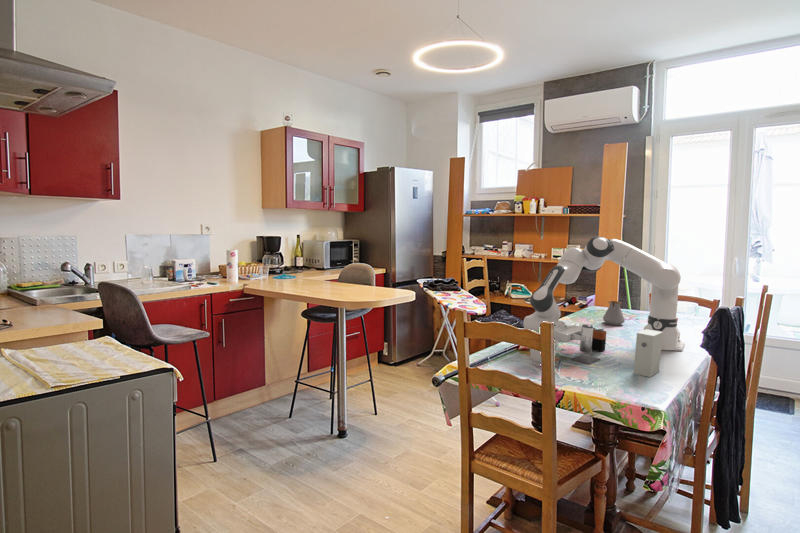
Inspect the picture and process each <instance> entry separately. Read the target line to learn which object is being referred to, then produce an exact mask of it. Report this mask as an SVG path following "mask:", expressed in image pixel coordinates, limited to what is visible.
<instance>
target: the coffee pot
mask: <svg viewBox="0 0 800 533" xmlns="http://www.w3.org/2000/svg"><path fill="white" fill-rule="evenodd" d="M607 302H608V303H609V306H608V308H607V309H606V311H605V314H604V315H603V317H602V319H603V321H604V323H605V324H607V325H610V326H621V325H622V324H624V323H625V321H626V320H625V317H624V314H623V311H622V309H621V304H622V301H614V300H608V301H607Z"/></svg>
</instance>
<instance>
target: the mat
mask: <svg viewBox="0 0 800 533" xmlns="http://www.w3.org/2000/svg"><path fill="white" fill-rule="evenodd" d="M570 360H571V361H574V362H579V363H583V364H585V365H592V364H594V363H596V362H598V361H601V357H596V356H592V355H587V354H583V353H581V354H579V355H576V356H573V357H571V358H570Z"/></svg>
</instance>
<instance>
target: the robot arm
mask: <svg viewBox="0 0 800 533" xmlns="http://www.w3.org/2000/svg"><path fill="white" fill-rule="evenodd" d="M606 261H611V262H613V263H614V264H617V265H618V266H620V267H622V268H624V269H626V270H628V271H629V272H631V273H633V274H635V275H637V276H638V277H640V278H641V279H643V280H644V281H646V282H648V283H650V284H651V290H650V293H651V294H650V302H649V303H650V305H649V314H648V316H647V324H646V325H644V326H643V330H645V329H649V330H654V331H660V332H663V337H662V347H661V351H677V352H678V351H679V352H682V351H683V350H684V347H685V345H686V344H685V342H684V341H681V338H680V337H681V332H680V330H679V329H678V327H677V326H678V319H679V318H678V317H677V311H678V302H679V301H678V300H679V299H678V297H679V284H680V283H681V279H682V278H681V274H680V272H679V270H678V269H677V267H676V266H674V265H672V264H670V263H665V262H664V261H663V260H660V259H658V258H656V257H655V256H653V255H651V254H650V253H648V252H645V251H644V250H642V249H640V248H639V247H638V248H637V247H636V246H635V245H632V244H630V243H628V242H625V241H623V240H620V239H616V238H611V239H609V238H606V237H602V236H593V237H591V238H590V239H589V240H588V241H587V243H586V244H585V247H584V248H582V249H581V248H578V247H570V248H567V249H566V250H565V252H564V253H563V254H562V256H561V257H560V259H559V261H558V262H557V264H556V265H555V266H553V267H552V268H551V269H550V271H549V272H548V273H547V275H546V276H545V278H544V279H543V281H542V283H541V284H540V285H539V286H538V288H537V289H536V290H535V291H534V292H533V293H532V294H531V296H530V299H529V303H530V305H531V307H532V309H534V310H535V311H534V312H533V313H532V314H530V315H526V316H525V317H524V318H523V329H524V330H525V329H530V330H534V331H536V332H538V333H539V327H540V324H541V322H543V321H548V322H554V338H555V340H557V341H558V342H559V343H569V342H573V341H580V340H582V341H584V340H586V336H583V335H582V336H581V327H582V325H581V326H579V325H573V324H572V325H567V324H566V323H565V322H564V321H562V320H560V319H561V316H562V312H561V309H560V308H559V306H558V304H557V302H556V300H555V297H554V291H555V289H556V288H557V287H558V285H559V283H560V284H563V285H570V284H574V283H575V282H576V281H577V279H578V278H579V276H580V274H581V272H582V271H584V272H585V273H592V274H593V273H597V271H599V270H600V269H601V267H602V266H604V264H605V262H606Z"/></svg>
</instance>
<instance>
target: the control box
mask: <svg viewBox="0 0 800 533" xmlns="http://www.w3.org/2000/svg"><path fill="white" fill-rule="evenodd" d="M662 337H663V332H660V331H654V330H649V329H645V330H644V329H643V330H640V331H638V332H636V338H635V340H636V342H635V352H634V353H635V354H634V365H633V374H635V375H639V376H644V377H646V376H647V377H648V378H652V377H653V376H655V375H657V374H658V373H660V369H661V358H662V356H661V355H662V350H661V347H662Z"/></svg>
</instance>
